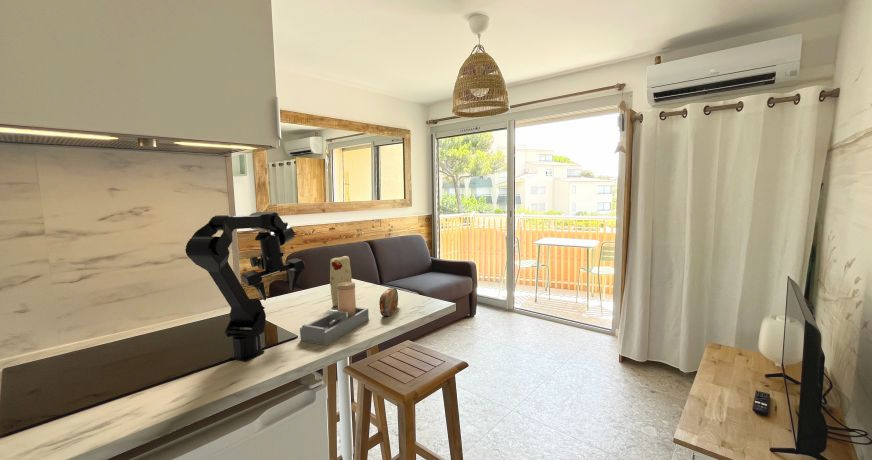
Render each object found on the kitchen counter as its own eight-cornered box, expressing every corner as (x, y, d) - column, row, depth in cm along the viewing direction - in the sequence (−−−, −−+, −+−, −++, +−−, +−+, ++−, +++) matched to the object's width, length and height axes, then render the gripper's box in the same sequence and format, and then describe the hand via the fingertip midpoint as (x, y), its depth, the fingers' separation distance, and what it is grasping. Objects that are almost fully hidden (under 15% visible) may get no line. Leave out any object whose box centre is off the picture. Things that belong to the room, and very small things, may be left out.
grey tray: (325, 345, 110) (325, 329, 109) (300, 340, 114) (299, 325, 113) (368, 319, 131) (368, 306, 130) (346, 315, 135) (345, 302, 134)
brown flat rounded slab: (386, 319, 131) (385, 296, 130) (378, 319, 131) (377, 296, 130) (399, 305, 145) (398, 285, 144) (391, 305, 146) (391, 285, 145)
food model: (338, 309, 143) (335, 259, 140) (327, 306, 146) (324, 257, 144) (356, 302, 151) (354, 255, 148) (345, 299, 154) (343, 253, 152)
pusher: (339, 331, 118) (338, 317, 117) (321, 328, 121) (320, 314, 120) (348, 325, 122) (347, 311, 122) (330, 322, 125) (330, 309, 125)
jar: (344, 325, 123) (343, 288, 122) (335, 320, 128) (333, 284, 126) (360, 319, 128) (358, 284, 126) (349, 315, 132) (348, 281, 130)
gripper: (287, 239, 128) (293, 280, 132) (230, 253, 114) (239, 298, 118) (303, 244, 120) (309, 288, 124) (244, 260, 107) (253, 308, 111)
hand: (278, 295), depth 120 cm, fingers open, 9 cm apart
